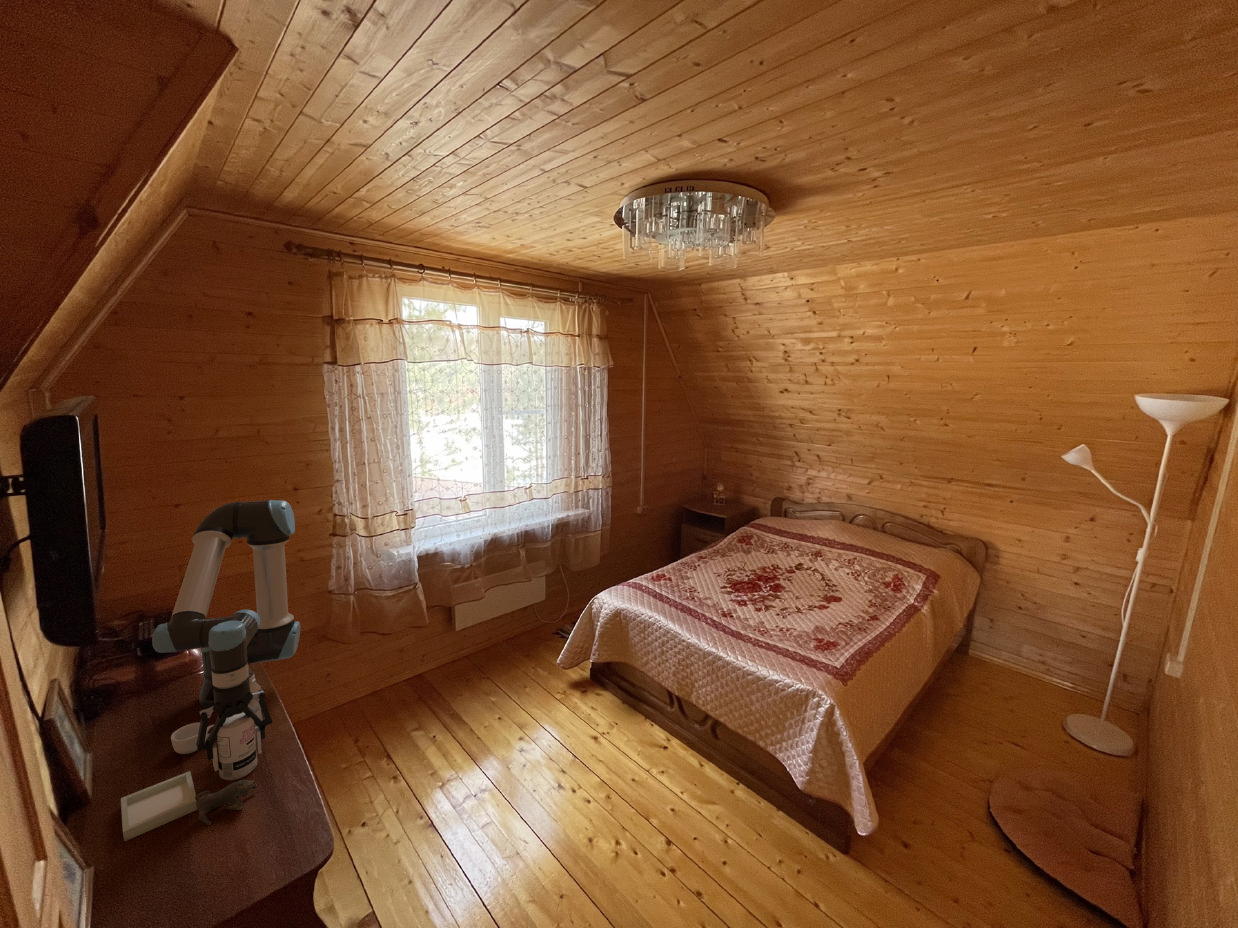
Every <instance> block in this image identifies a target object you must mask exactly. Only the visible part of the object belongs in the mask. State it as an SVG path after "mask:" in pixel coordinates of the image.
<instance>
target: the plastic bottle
mask: <svg viewBox="0 0 1238 928" xmlns="http://www.w3.org/2000/svg"><path fill="white" fill-rule="evenodd" d="M248 677H249V683H250V692H251V693H256V692H258V691H259V690H261V689H262V687H261V685H260V684H259V683H258V682H257V681H256V682H257V683H256V682H254V681H255V679H256V677H255V673H254V672H252V673H249V676H248ZM248 706H249V707H250V709H251V710H252V711H253V712H254V713H255V714H256V715H257V716H258V717H259V718H260V719H261V720H262V721H263V720H264V719H263V713H262V710H261V707H260V705H259V702H258V701H256V700H255V698H252V700H251V702H250V703H249V705H248ZM255 727H257V726H256V725H255Z"/></svg>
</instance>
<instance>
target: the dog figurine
mask: <svg viewBox="0 0 1238 928" xmlns="http://www.w3.org/2000/svg"><path fill="white" fill-rule="evenodd" d="M254 783H255V780H253V779H251V780H250V779H242V780H238V781H235V782H232V783H230V784H228V785H227V786H225V787H224V788H222V789H220V790H218V791H216V792H212V793H210V790H204V791H201V792H198V793H197V794H196V796H195V800H196V806H197V809H198V816H197V818H198V820H200V821H201V822H203V823H204V824H206V825H207V826H211V825H212V824H213V821H212V819H208V817H207V816H206V815H207V814H208V812H209V811H213V810H215V809H218V807H219V808H221V806H222V805H224V804H227V803H230V804H228V805H226V806H225V807H224V809H225V810H229V811H241V810H242V809H244V808H243V801H242V800H241V799H240V797H241V796H242V797H247V796H249V792H250V790H255V789H258V785H257V784H254ZM211 823H212V824H211Z"/></svg>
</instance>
